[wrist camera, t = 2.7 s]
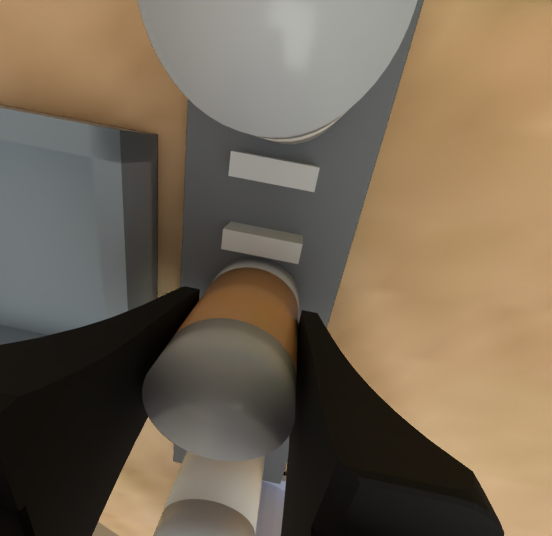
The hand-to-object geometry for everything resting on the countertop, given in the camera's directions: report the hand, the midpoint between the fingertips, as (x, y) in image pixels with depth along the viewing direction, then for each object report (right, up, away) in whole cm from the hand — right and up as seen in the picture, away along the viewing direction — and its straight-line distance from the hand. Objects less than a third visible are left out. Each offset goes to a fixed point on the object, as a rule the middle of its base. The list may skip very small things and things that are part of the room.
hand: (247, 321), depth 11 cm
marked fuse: (0, +1, +2) cm, 2 cm away
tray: (-11, +3, +3) cm, 11 cm away
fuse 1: (-1, -7, +5) cm, 9 cm away
